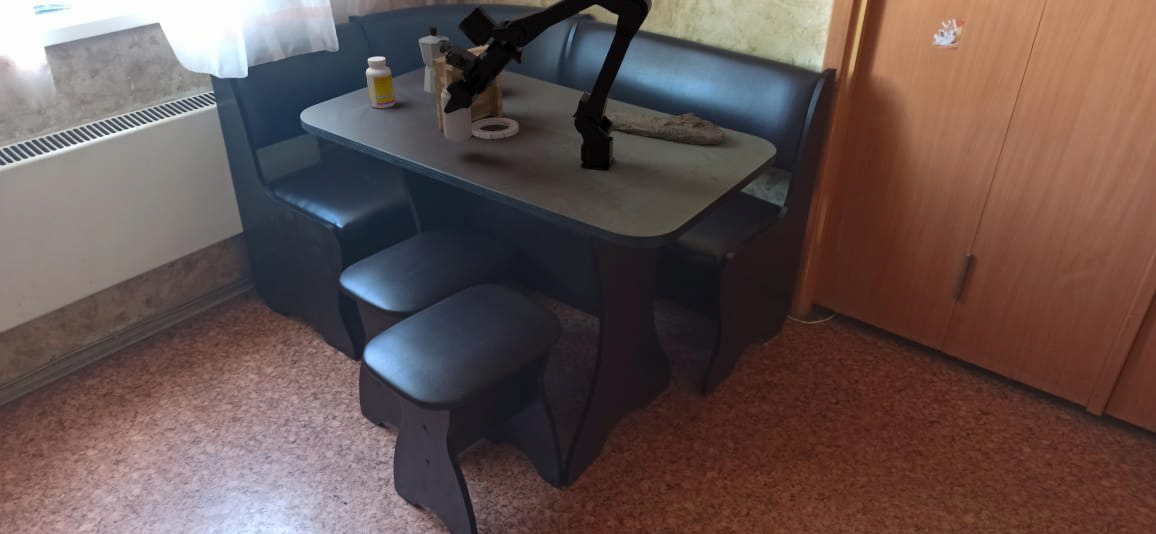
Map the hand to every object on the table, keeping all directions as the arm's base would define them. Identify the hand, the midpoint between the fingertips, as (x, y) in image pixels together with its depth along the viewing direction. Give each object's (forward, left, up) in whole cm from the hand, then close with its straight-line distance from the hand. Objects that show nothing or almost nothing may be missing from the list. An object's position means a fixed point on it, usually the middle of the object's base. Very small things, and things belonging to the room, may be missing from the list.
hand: (449, 107), depth 179 cm
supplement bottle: (+34, -27, -11) cm, 45 cm away
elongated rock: (-43, -27, -12) cm, 52 cm away
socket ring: (-3, -17, -11) cm, 21 cm away
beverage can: (-1, 0, -8) cm, 8 cm away
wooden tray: (+3, -20, -11) cm, 23 cm away
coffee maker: (+24, -43, -11) cm, 50 cm away
